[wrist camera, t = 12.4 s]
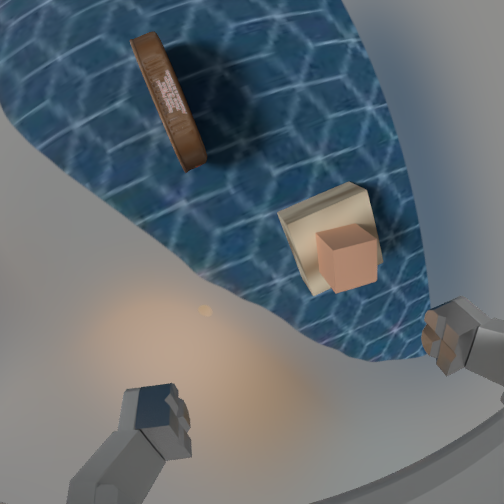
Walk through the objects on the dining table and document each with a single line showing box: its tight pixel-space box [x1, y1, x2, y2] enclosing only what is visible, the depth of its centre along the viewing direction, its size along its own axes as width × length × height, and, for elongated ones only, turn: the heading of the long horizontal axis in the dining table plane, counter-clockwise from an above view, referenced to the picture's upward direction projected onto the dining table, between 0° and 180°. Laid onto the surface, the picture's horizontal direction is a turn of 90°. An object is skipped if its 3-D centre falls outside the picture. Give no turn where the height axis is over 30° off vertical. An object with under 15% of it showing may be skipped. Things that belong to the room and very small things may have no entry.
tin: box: [130, 32, 207, 173], centre depth 27 cm, size 15×3×8 cm, turn 20°
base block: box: [277, 182, 383, 296], centre depth 38 cm, size 10×10×5 cm
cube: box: [315, 223, 377, 293], centre depth 33 cm, size 5×5×5 cm
